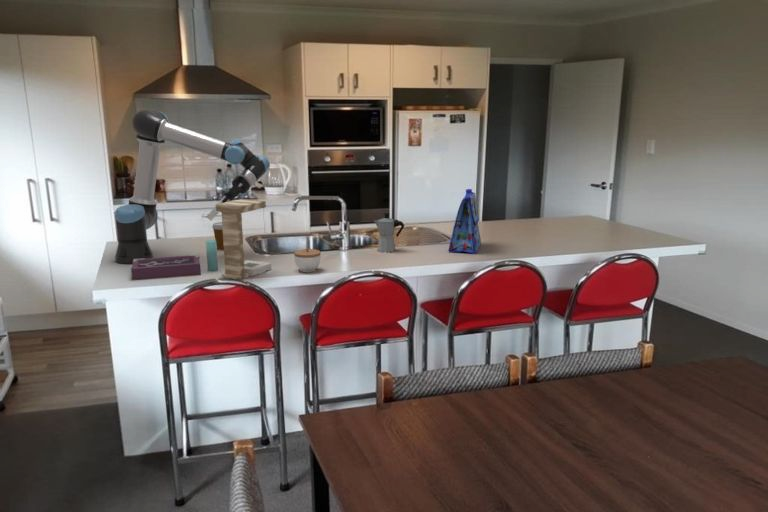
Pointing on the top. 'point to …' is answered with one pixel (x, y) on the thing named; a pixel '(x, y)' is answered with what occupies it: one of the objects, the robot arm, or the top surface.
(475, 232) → the lunch bag
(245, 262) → the socket
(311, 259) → the lidded jar
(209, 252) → the peg
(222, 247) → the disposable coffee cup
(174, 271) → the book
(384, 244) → the coffee maker
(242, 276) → the wooden pedestal
